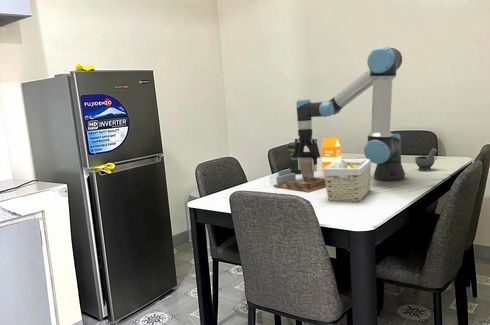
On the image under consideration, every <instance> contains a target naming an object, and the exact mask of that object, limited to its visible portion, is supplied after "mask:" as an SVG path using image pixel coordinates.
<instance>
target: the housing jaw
mask: <svg viewBox="0 0 490 325" xmlns="http://www.w3.org/2000/svg"><path fill="white" fill-rule="evenodd" d="M277 173H278V174H277V175H278V176H276V184H282V183H286V181H294V180H296V179H297V178H296V174H295V173H291V169H289V168H288V169H283V170H282V169H281V170H280V171H277Z"/></svg>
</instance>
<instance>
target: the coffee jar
mask: <svg viewBox="0 0 490 325" xmlns="http://www.w3.org/2000/svg"><path fill="white" fill-rule="evenodd" d="M299 147H300V146H299ZM294 149H295V141H294V142H289V143H288V144H287V152H288V157H289V160H288V161H289V164H288V169H291V173H295V175H300V174H301V175H302V173H301V169H300V170H298V163H297V157H296V156H294ZM303 152H305V148H304V149H303Z"/></svg>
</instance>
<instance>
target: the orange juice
mask: <svg viewBox="0 0 490 325" xmlns="http://www.w3.org/2000/svg"><path fill="white" fill-rule="evenodd" d="M341 148H342V147H341V143H340V141H339V139H338V137H337V136H329V137H328V136H327V137H326V136H325V137H323V139H322V144H321V148H320V149H321V163H322V172H323V173H324V168H325V167H326V166H328V165H330V164H331V163H333V162H334V161H336V160H338V159H342V149H341Z"/></svg>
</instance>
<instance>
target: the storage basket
mask: <svg viewBox="0 0 490 325" xmlns="http://www.w3.org/2000/svg"><path fill="white" fill-rule="evenodd" d="M348 166H359V167H358V168H348ZM371 169H372V162H371V160H370V159H367V158H350V159H349V158H343V159H342V158H341V159H338V160H336V161H334V162H333V163H331V164H330V165H328V166H326V167H325V168H324V172H323V177H324V179H325V183H326V187H325V189H326V193H327V194H326V195H327V199H328V200H329V201H341V202H343V201H344V202H360V201H361V200H362V199H363V198H364V197H366V195H367V194H368V192H369V191H370V190H371V188H372V187H371V176H372V175H371Z"/></svg>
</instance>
